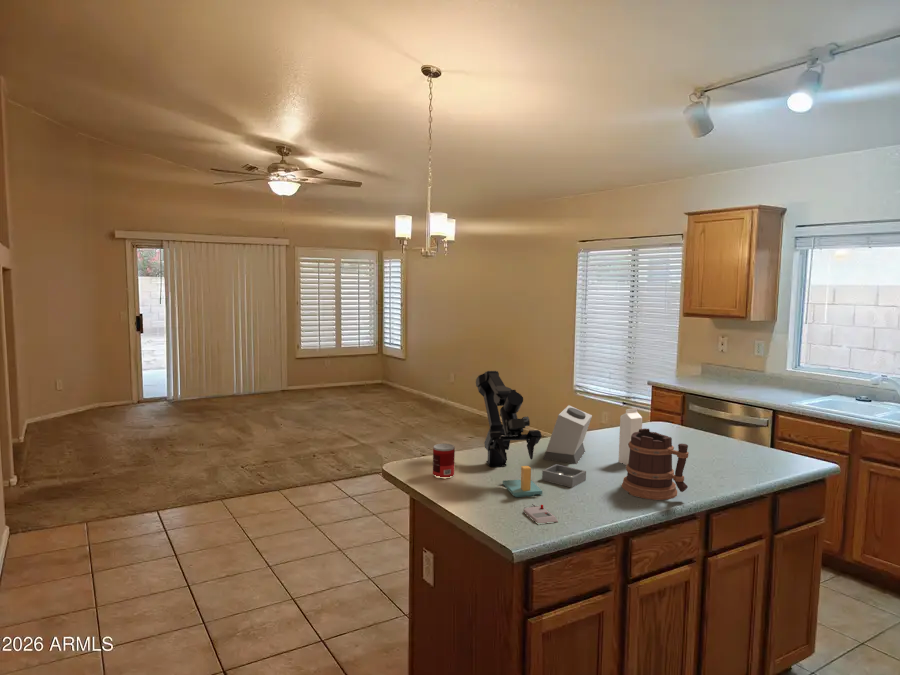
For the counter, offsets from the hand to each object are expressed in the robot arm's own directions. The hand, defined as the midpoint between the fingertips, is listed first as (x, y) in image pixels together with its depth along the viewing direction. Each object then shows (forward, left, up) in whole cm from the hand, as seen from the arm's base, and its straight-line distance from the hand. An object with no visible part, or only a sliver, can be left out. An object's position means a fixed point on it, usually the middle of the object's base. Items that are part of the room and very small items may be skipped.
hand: (519, 459), depth 197 cm
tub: (+18, +3, -10) cm, 21 cm away
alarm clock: (+32, +32, -10) cm, 47 cm away
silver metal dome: (+20, +1, -9) cm, 22 cm away
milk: (+53, +20, -10) cm, 57 cm away
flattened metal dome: (+17, +5, -9) cm, 20 cm away
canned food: (-23, +16, -10) cm, 30 cm away
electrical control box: (-2, -24, -11) cm, 27 cm away
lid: (0, -4, -10) cm, 11 cm away
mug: (+45, -12, -10) cm, 48 cm away
